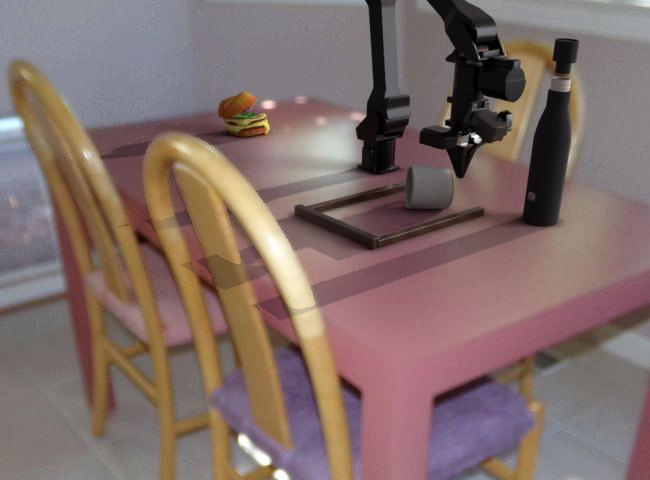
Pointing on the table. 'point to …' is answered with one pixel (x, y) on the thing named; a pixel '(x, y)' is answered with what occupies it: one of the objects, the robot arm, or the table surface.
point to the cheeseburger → (242, 116)
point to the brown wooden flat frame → (368, 239)
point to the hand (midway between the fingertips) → (460, 178)
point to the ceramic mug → (429, 187)
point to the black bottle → (551, 143)
